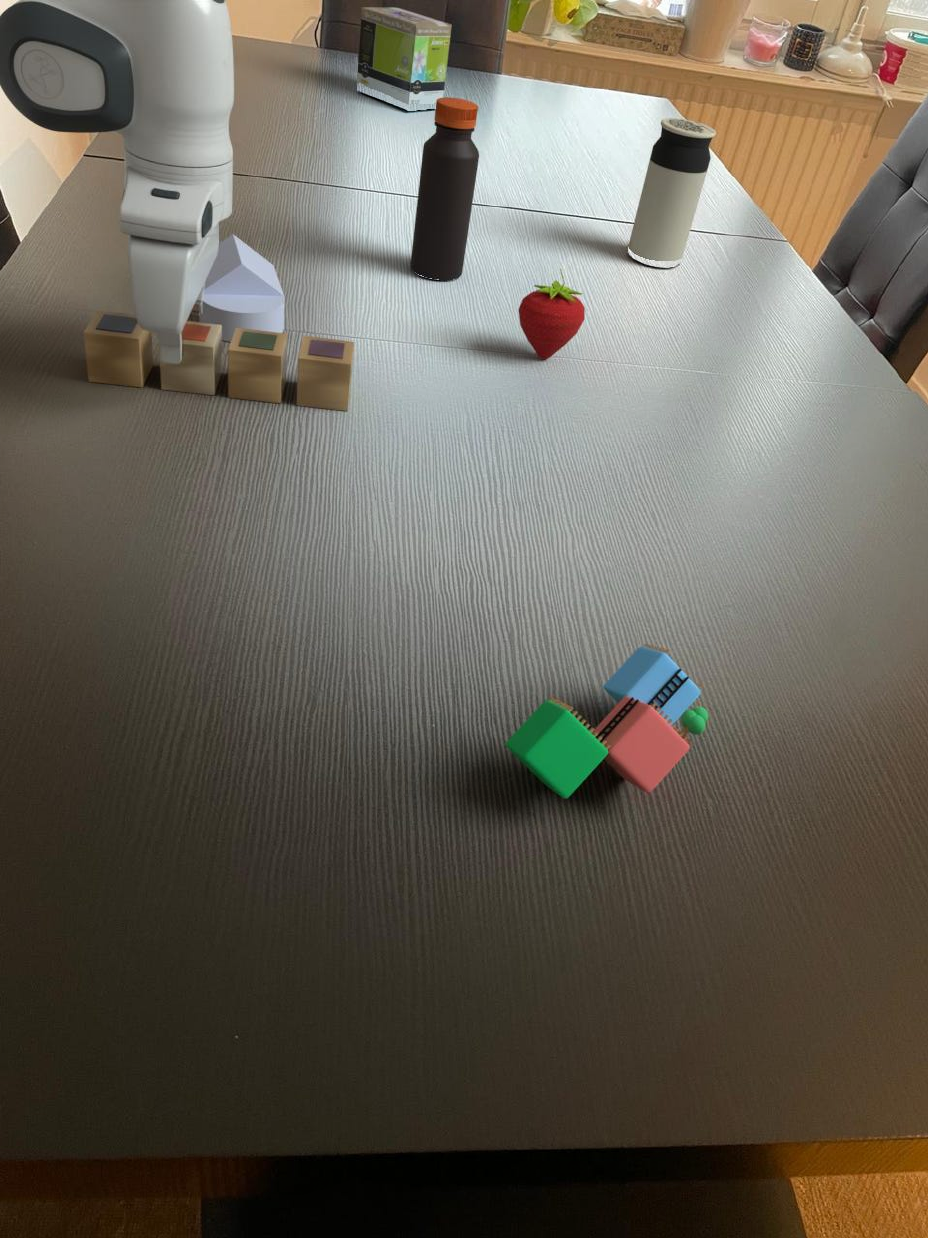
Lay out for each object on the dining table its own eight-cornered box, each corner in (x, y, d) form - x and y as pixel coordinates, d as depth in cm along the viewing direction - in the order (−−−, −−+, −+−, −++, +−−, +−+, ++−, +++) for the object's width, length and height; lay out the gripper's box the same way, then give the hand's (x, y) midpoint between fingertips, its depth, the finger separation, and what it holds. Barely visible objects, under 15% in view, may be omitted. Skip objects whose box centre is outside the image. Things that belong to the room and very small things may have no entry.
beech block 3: (296, 405, 96) (298, 356, 92) (301, 381, 99) (303, 334, 96) (347, 411, 96) (351, 363, 93) (350, 387, 100) (354, 340, 97)
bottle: (400, 271, 126) (418, 99, 113) (424, 257, 131) (444, 91, 118) (447, 286, 124) (471, 114, 111) (470, 271, 129) (495, 105, 116)
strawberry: (504, 345, 113) (519, 259, 107) (565, 347, 115) (584, 262, 109) (517, 369, 109) (534, 280, 102) (581, 371, 111) (602, 284, 104)
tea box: (443, 109, 193) (454, 23, 183) (406, 113, 186) (415, 24, 177) (391, 88, 200) (398, 4, 190) (353, 91, 193) (359, 4, 184)
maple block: (161, 389, 94) (158, 339, 91) (171, 366, 98) (168, 317, 95) (214, 395, 95) (213, 346, 91) (222, 372, 99) (221, 323, 95)
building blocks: (563, 807, 68) (679, 680, 69) (610, 844, 60) (739, 700, 61) (485, 731, 66) (605, 602, 67) (523, 759, 58) (658, 612, 59)
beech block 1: (88, 381, 93) (82, 330, 90) (101, 358, 97) (96, 308, 94) (142, 388, 94) (139, 337, 91) (153, 364, 98) (150, 315, 94)
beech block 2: (228, 397, 95) (227, 348, 92) (235, 374, 99) (235, 325, 95) (280, 403, 95) (281, 354, 92) (286, 380, 99) (287, 332, 96)
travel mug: (637, 268, 139) (672, 131, 128) (619, 247, 145) (651, 114, 134) (688, 271, 141) (727, 137, 130) (668, 250, 147) (704, 120, 136)
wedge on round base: (192, 291, 112) (202, 342, 103) (190, 232, 108) (201, 279, 98) (272, 293, 115) (289, 343, 105) (274, 235, 110) (291, 282, 101)
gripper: (167, 146, 92) (170, 290, 101) (112, 219, 76) (122, 381, 85) (235, 158, 93) (233, 299, 101) (195, 232, 77) (197, 392, 86)
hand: (182, 338), depth 93 cm, fingers open, 8 cm apart
